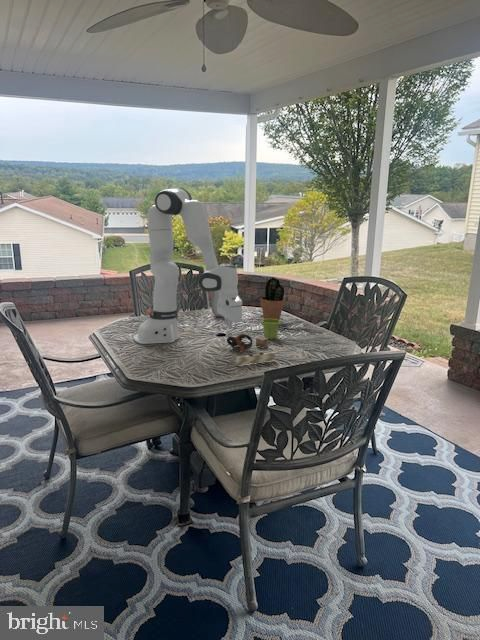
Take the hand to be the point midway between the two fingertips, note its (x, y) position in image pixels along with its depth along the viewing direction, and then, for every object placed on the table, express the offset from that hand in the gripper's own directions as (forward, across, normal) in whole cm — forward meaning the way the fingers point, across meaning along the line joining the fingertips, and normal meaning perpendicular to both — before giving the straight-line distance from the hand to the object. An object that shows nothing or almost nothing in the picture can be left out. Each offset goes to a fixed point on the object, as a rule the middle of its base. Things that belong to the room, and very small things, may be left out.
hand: (229, 327), depth 215 cm
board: (+8, +28, -1) cm, 30 cm away
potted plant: (+10, -31, +41) cm, 52 cm away
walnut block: (+9, +8, +13) cm, 18 cm away
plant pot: (+10, -3, +24) cm, 26 cm away
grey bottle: (+9, -50, +17) cm, 53 cm away
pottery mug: (+9, +8, +1) cm, 12 cm away
